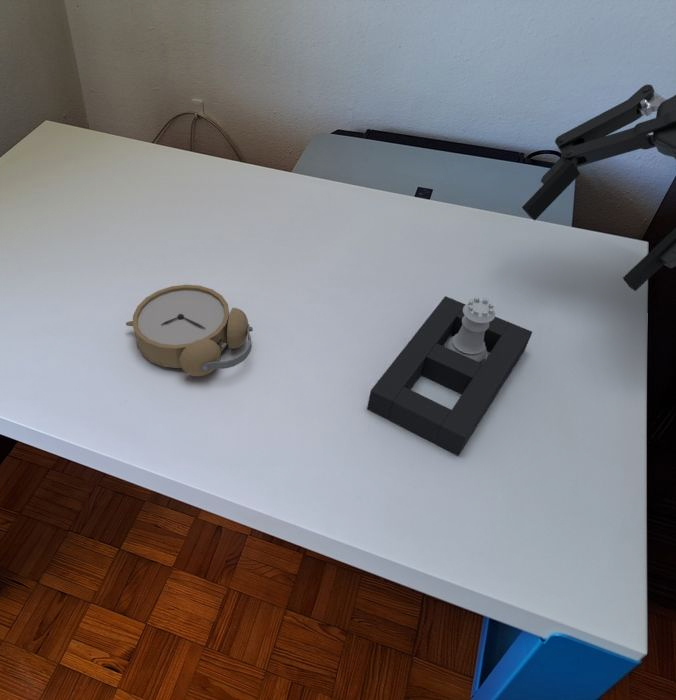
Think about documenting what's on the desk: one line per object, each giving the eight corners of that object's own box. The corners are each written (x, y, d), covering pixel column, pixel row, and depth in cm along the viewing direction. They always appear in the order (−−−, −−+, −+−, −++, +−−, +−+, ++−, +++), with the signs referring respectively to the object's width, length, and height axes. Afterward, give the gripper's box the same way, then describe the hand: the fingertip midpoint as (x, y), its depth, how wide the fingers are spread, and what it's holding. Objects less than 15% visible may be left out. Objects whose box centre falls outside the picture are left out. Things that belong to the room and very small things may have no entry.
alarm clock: (176, 273, 84) (272, 307, 76) (183, 305, 87) (277, 341, 79) (110, 322, 79) (206, 365, 70) (121, 355, 82) (214, 400, 73)
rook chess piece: (459, 338, 79) (476, 285, 73) (492, 359, 76) (512, 306, 71) (434, 356, 77) (450, 304, 71) (468, 379, 75) (486, 326, 69)
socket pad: (524, 350, 77) (532, 331, 75) (458, 456, 68) (465, 438, 66) (440, 314, 82) (445, 295, 80) (366, 408, 72) (370, 390, 70)
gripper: (632, 8, 70) (480, 175, 77) (891, 108, 54) (671, 307, 61) (648, 50, 75) (504, 202, 82) (888, 152, 59) (686, 331, 66)
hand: (575, 247), depth 71 cm, fingers open, 13 cm apart
